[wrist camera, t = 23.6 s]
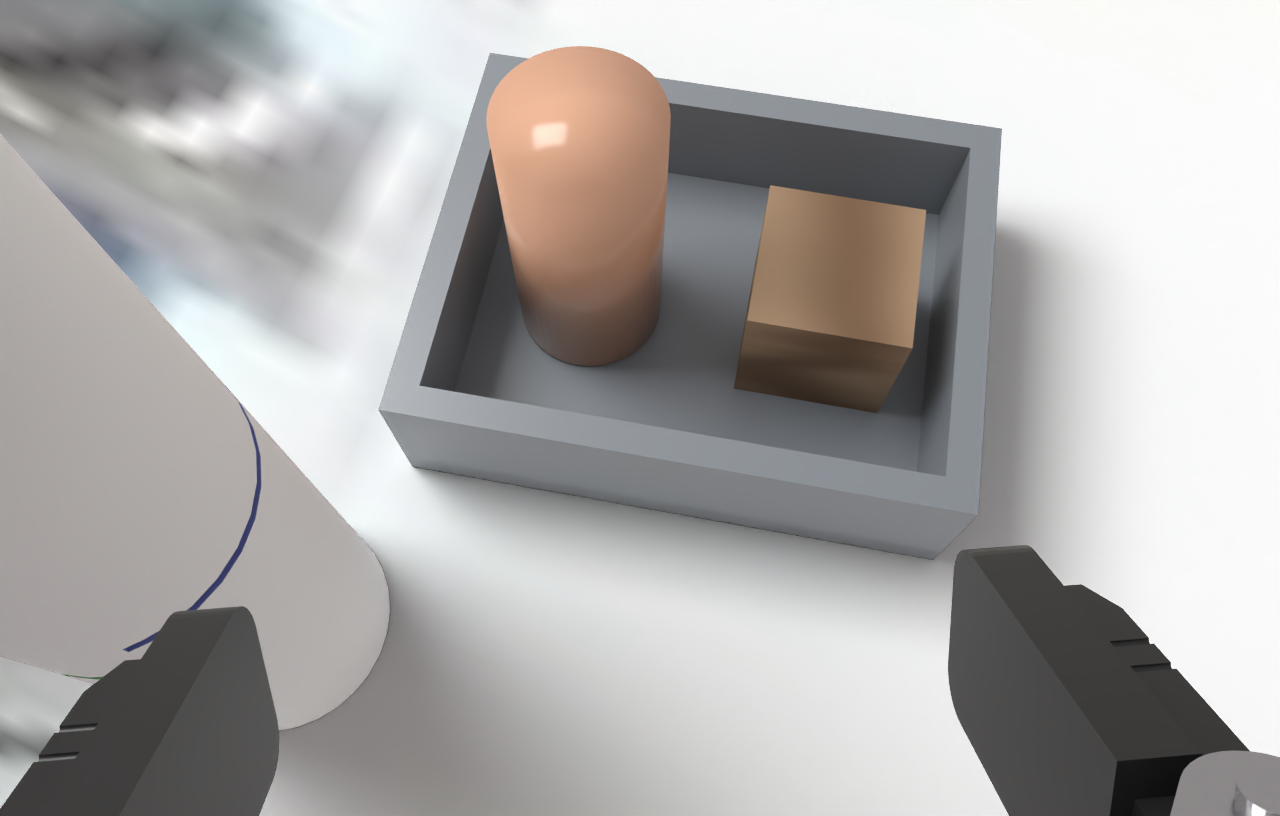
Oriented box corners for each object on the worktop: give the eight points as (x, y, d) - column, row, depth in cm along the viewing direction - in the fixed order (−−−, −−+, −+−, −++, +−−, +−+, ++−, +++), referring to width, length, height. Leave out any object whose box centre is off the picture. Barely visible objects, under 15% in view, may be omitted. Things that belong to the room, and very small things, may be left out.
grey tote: (412, 466, 36) (378, 409, 31) (506, 141, 41) (490, 52, 37) (933, 559, 34) (978, 515, 30) (960, 212, 40) (1001, 128, 35)
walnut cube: (733, 388, 36) (746, 320, 31) (754, 266, 38) (770, 185, 33) (877, 413, 35) (912, 348, 31) (891, 288, 37) (926, 209, 33)
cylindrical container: (432, 638, 33) (-26, 174, 10) (235, 780, 32) (-824, 594, 9) (320, 473, 36) (-259, -209, 13) (131, 596, 34) (-930, 67, 11)
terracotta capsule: (503, 348, 36) (462, 170, 27) (543, 233, 38) (516, 31, 29) (642, 379, 36) (646, 209, 27) (674, 260, 38) (688, 65, 29)
